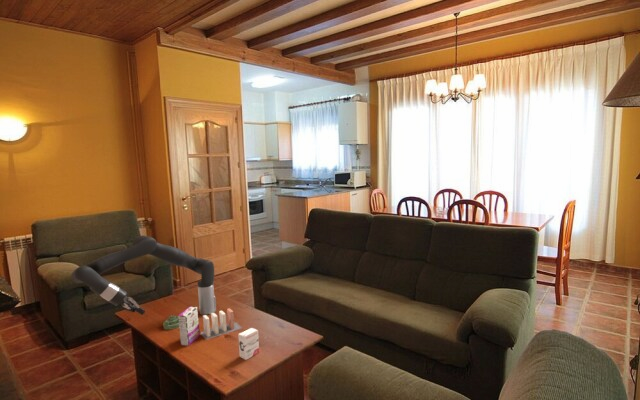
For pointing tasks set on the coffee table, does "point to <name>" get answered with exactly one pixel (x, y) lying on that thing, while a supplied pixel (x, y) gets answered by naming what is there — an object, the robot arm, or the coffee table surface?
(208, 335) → the domino
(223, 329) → the domino
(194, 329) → the candy bar box
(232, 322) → the domino
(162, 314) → the coffee table surface
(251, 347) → the ink box
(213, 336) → the mat
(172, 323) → the decorative artifact
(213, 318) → the domino
